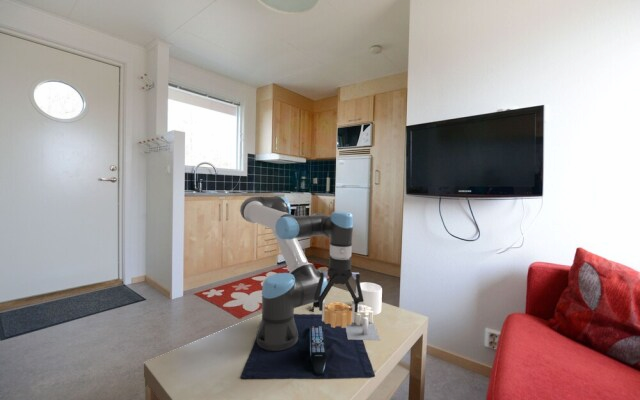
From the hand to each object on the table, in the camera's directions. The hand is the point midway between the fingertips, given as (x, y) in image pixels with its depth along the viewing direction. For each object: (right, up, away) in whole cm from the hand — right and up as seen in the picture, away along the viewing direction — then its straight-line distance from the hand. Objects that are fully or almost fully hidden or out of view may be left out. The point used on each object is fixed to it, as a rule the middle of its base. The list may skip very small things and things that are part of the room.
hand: (337, 319), depth 94 cm
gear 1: (0, 0, 0) cm, 0 cm away
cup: (+16, -10, +30) cm, 36 cm away
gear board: (+10, -10, +14) cm, 20 cm away
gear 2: (+11, -9, +19) cm, 24 cm away
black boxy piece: (-7, -10, +33) cm, 35 cm away
